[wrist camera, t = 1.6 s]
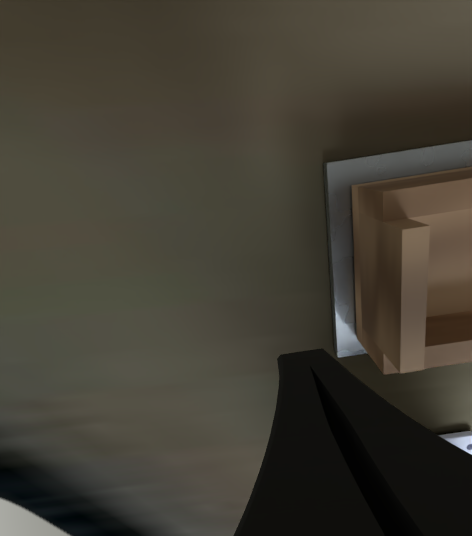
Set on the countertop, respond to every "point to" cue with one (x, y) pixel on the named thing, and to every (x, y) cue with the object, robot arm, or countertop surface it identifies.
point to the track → (341, 219)
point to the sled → (414, 270)
